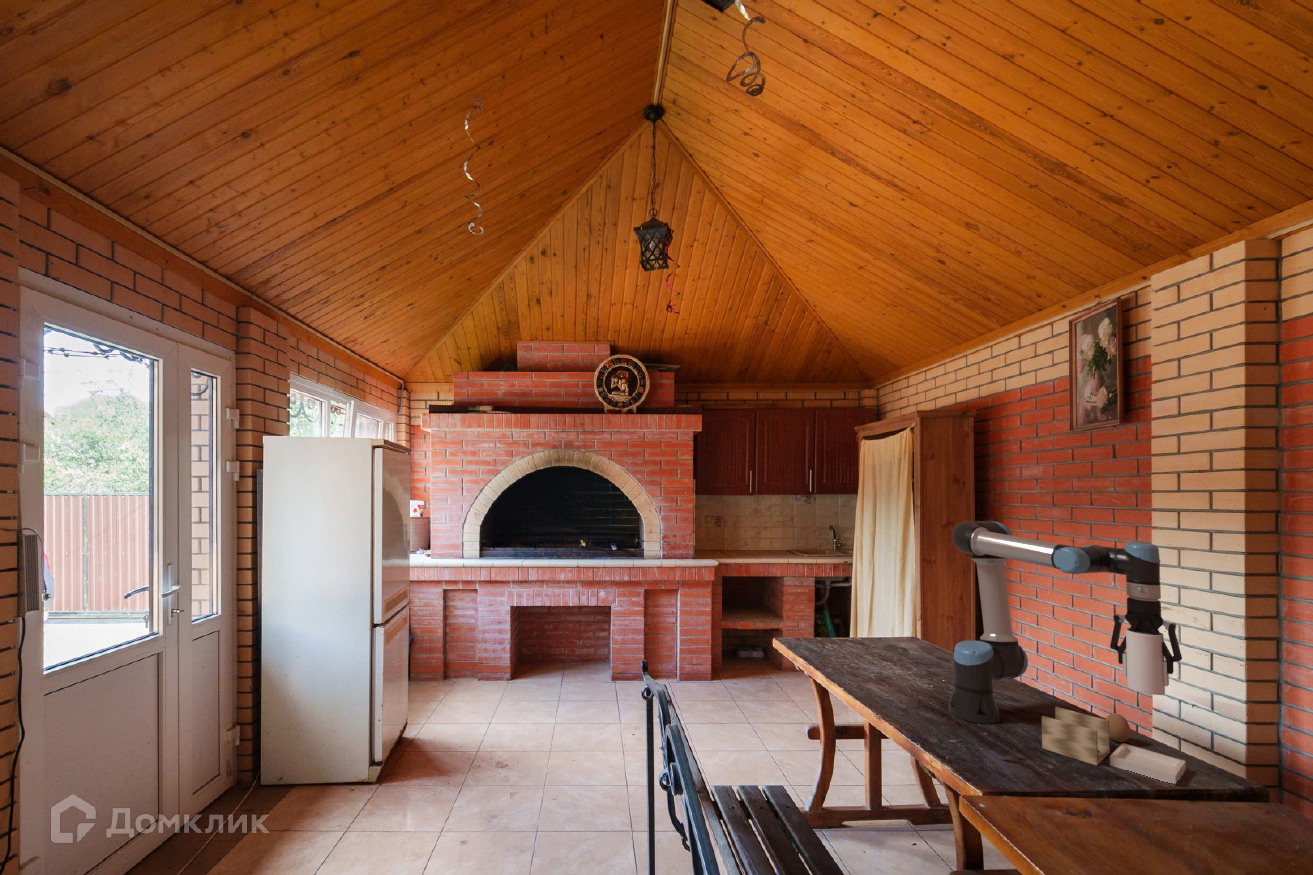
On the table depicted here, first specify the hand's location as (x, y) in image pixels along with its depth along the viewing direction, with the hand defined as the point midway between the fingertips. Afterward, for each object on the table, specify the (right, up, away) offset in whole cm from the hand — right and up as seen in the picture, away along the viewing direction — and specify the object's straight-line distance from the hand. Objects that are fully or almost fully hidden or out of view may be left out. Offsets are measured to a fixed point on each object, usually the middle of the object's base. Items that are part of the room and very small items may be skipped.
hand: (1145, 680), depth 168 cm
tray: (-1, -24, -2) cm, 24 cm away
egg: (+4, -25, +16) cm, 30 cm away
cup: (0, -3, 0) cm, 3 cm away
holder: (-14, -24, +8) cm, 29 cm away
